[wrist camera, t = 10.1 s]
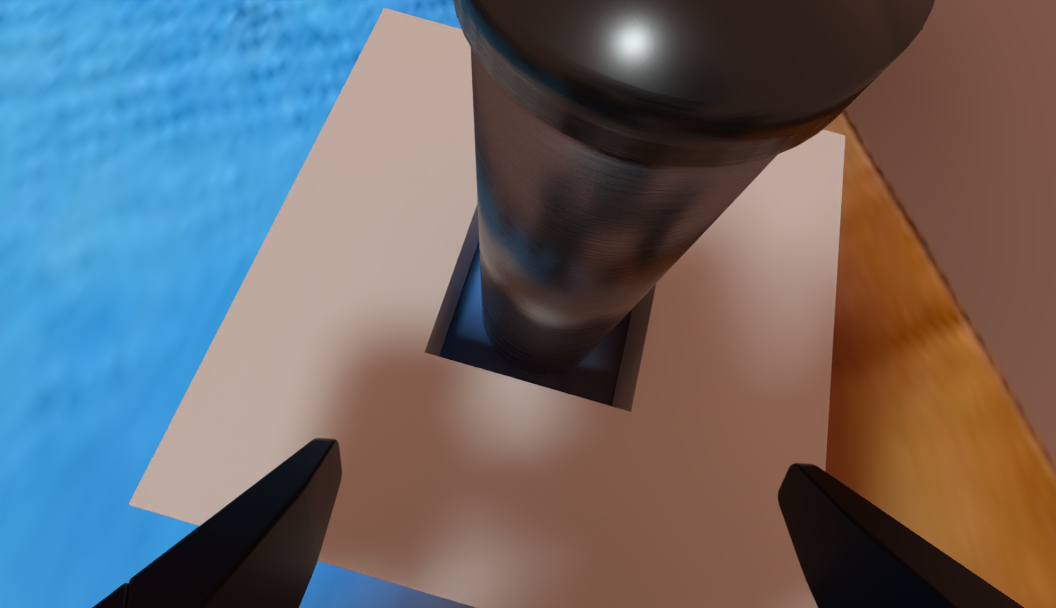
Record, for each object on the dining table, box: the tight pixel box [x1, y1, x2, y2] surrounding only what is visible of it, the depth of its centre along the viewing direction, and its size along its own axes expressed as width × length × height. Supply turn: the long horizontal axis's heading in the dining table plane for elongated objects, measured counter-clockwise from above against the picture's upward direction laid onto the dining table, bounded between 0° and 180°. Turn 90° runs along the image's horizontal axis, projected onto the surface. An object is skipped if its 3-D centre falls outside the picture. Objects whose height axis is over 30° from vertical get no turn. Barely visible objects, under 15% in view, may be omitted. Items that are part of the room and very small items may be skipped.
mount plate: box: [128, 8, 845, 608], centre depth 18 cm, size 20×20×3 cm
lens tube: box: [453, 0, 934, 373], centre depth 12 cm, size 5×5×15 cm
